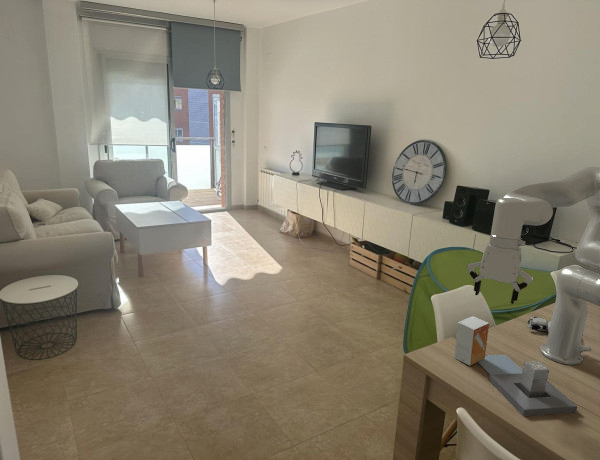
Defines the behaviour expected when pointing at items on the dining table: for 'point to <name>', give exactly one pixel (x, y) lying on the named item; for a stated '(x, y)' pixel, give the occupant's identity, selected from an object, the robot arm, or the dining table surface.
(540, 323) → the robot toy
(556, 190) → the robot arm
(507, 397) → the socket block
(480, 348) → the small box
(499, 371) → the blue pad
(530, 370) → the steel plug
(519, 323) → the dining table surface
